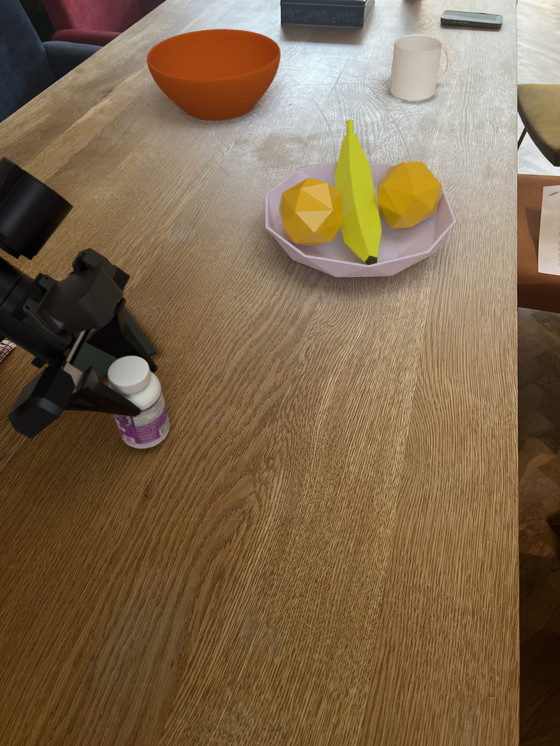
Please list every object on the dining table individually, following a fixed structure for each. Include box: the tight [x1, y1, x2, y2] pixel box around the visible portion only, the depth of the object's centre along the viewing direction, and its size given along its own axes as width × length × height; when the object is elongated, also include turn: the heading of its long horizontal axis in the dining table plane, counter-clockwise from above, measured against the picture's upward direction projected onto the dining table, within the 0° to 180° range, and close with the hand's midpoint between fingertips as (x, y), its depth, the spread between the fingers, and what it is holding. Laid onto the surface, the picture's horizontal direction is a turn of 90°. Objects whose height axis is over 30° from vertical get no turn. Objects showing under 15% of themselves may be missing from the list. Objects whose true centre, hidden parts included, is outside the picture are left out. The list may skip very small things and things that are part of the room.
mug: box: [389, 33, 452, 102], centre depth 121 cm, size 12×9×9 cm
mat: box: [65, 310, 157, 380], centre depth 76 cm, size 10×10×1 cm
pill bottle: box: [107, 356, 171, 450], centre depth 62 cm, size 5×5×10 cm
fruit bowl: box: [264, 119, 457, 278], centre depth 86 cm, size 28×27×11 cm
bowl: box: [146, 28, 282, 122], centre depth 119 cm, size 25×25×10 cm
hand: (147, 392), depth 61 cm, fingers closed on pill bottle, 5 cm apart
